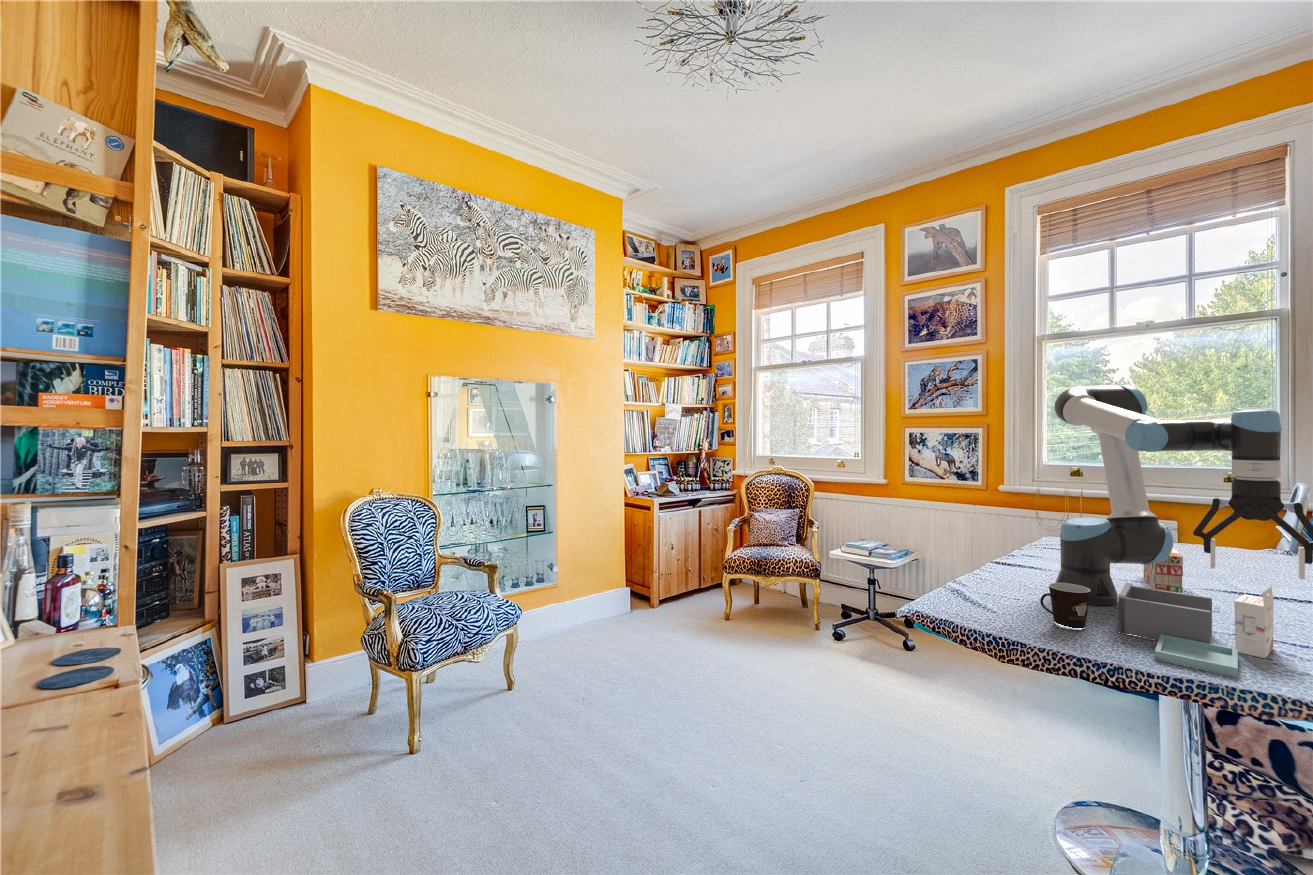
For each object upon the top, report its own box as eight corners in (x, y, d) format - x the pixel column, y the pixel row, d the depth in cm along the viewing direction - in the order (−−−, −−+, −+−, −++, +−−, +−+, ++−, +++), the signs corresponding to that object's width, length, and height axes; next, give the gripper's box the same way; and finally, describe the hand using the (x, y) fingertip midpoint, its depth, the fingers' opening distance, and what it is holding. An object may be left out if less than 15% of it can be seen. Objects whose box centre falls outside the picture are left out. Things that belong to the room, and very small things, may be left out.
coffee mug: (1082, 622, 146) (1082, 584, 146) (1096, 633, 138) (1096, 593, 138) (1031, 617, 150) (1030, 580, 149) (1041, 629, 142) (1041, 590, 141)
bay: (1118, 633, 138) (1118, 594, 138) (1126, 618, 148) (1126, 582, 148) (1210, 651, 126) (1210, 609, 126) (1211, 634, 136) (1212, 595, 136)
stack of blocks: (1142, 576, 186) (1142, 540, 186) (1167, 579, 183) (1168, 542, 182) (1155, 593, 168) (1155, 553, 168) (1183, 596, 165) (1183, 555, 165)
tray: (1154, 659, 122) (1154, 650, 122) (1160, 642, 132) (1160, 634, 132) (1237, 678, 113) (1237, 668, 113) (1237, 657, 123) (1237, 648, 123)
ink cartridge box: (1242, 642, 131) (1243, 580, 130) (1274, 649, 127) (1274, 585, 126) (1233, 651, 126) (1233, 587, 126) (1265, 659, 122) (1265, 592, 121)
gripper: (1178, 477, 132) (1178, 566, 132) (1345, 483, 114) (1345, 586, 114) (1180, 474, 137) (1180, 560, 137) (1340, 480, 119) (1340, 579, 119)
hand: (1255, 572), depth 126 cm, fingers open, 13 cm apart
